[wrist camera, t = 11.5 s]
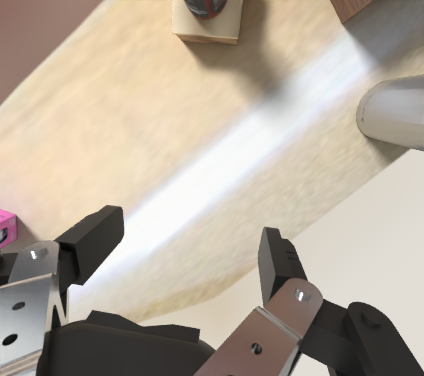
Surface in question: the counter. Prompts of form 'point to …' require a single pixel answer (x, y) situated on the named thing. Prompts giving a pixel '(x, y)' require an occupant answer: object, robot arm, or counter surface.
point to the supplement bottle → (205, 8)
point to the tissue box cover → (348, 8)
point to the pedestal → (207, 24)
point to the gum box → (7, 228)
